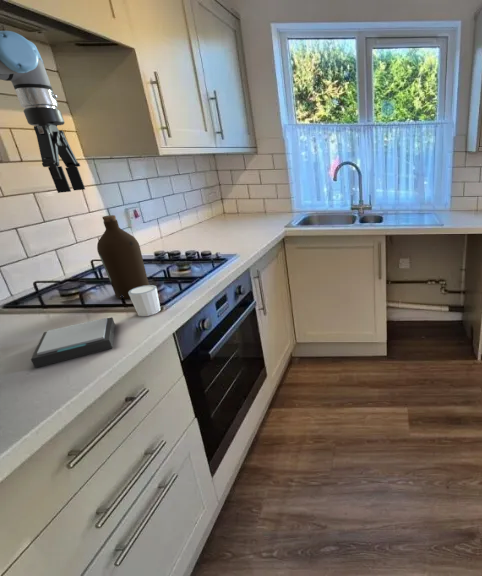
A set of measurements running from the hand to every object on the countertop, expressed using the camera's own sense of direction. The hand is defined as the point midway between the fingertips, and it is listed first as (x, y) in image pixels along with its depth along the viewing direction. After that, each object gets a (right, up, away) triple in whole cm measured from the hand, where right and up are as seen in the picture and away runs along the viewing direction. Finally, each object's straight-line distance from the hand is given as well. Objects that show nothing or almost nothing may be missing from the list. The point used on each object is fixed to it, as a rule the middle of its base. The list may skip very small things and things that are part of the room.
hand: (72, 191), depth 103 cm
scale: (+15, -41, -15) cm, 46 cm away
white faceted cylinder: (+21, -35, +1) cm, 41 cm away
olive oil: (+8, -30, +14) cm, 34 cm away
